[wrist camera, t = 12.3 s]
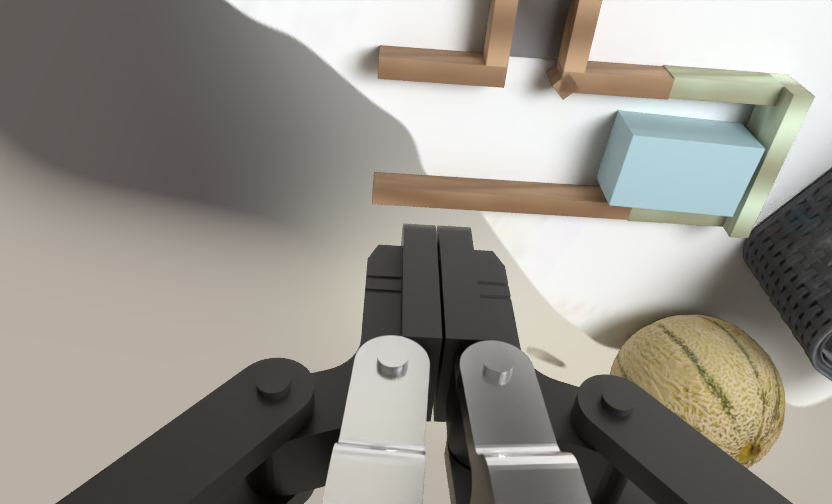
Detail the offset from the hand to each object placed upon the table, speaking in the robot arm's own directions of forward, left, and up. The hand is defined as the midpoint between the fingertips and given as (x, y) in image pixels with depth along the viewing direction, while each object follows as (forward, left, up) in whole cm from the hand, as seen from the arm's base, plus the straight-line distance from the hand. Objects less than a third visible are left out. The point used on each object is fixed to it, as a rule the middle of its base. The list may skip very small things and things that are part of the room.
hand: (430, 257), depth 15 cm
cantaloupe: (+35, +28, -35) cm, 57 cm away
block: (+14, +21, -35) cm, 44 cm away
